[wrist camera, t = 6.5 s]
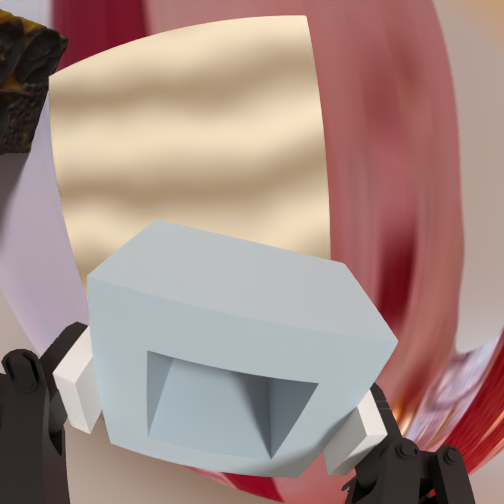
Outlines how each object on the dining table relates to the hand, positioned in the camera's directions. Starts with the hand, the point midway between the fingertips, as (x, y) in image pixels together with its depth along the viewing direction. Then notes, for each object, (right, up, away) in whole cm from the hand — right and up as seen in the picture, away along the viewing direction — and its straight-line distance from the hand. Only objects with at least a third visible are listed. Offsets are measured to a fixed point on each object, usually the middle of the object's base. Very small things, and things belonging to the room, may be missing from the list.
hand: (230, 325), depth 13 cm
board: (-4, +8, +5) cm, 10 cm away
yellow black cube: (-20, +18, +2) cm, 26 cm away
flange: (-1, -2, +1) cm, 3 cm away
